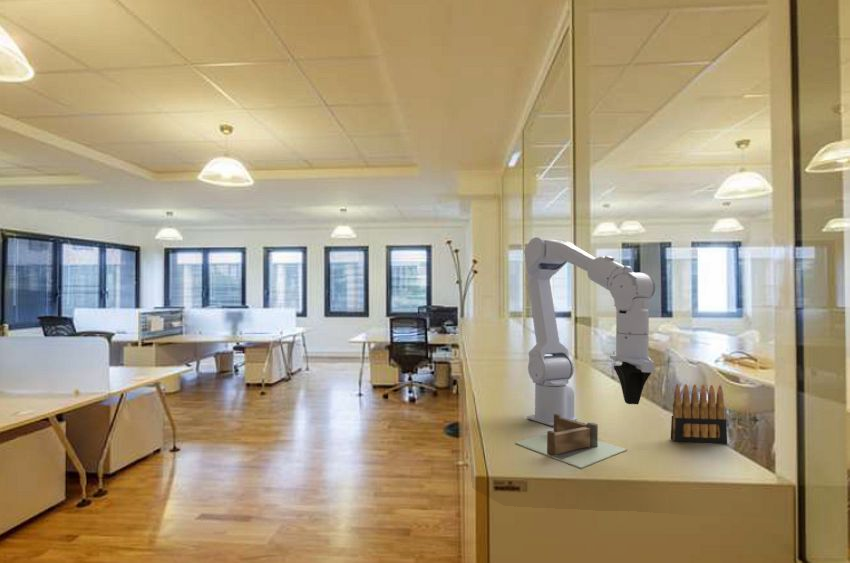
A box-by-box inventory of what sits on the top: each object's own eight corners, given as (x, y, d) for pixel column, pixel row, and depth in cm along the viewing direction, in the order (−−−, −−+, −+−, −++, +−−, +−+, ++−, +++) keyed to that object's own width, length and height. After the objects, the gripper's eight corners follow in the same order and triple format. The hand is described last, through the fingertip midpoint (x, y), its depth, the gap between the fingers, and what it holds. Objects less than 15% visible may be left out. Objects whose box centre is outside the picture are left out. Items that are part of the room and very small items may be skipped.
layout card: (561, 430, 96) (561, 428, 96) (626, 450, 84) (626, 449, 84) (515, 443, 87) (515, 442, 87) (581, 468, 75) (581, 467, 75)
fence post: (557, 433, 93) (557, 412, 93) (599, 447, 85) (599, 424, 85) (551, 435, 92) (551, 414, 92) (593, 449, 84) (594, 426, 84)
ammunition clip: (721, 441, 91) (721, 384, 91) (727, 444, 89) (727, 386, 89) (670, 439, 91) (670, 382, 91) (675, 442, 89) (675, 384, 90)
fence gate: (584, 444, 85) (584, 424, 86) (590, 446, 84) (590, 426, 84) (545, 453, 80) (545, 431, 80) (551, 455, 79) (551, 433, 79)
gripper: (598, 329, 91) (598, 393, 91) (626, 336, 77) (625, 412, 76) (632, 330, 91) (632, 395, 90) (666, 337, 76) (666, 414, 76)
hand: (631, 403), depth 83 cm, fingers closed
